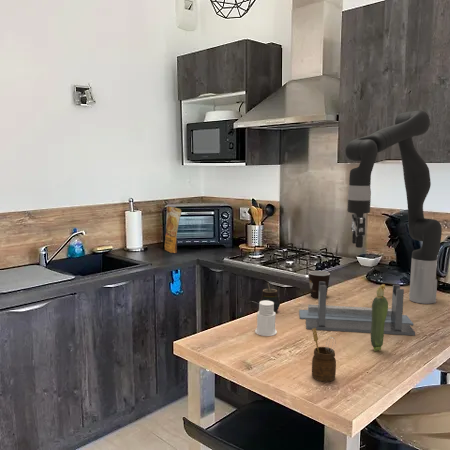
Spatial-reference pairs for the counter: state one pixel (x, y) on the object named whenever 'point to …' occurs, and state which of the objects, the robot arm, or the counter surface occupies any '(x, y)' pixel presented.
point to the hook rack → (360, 326)
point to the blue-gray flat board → (350, 318)
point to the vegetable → (378, 318)
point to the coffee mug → (317, 282)
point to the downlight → (266, 319)
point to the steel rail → (346, 311)
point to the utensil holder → (323, 362)
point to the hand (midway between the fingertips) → (357, 245)
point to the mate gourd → (271, 297)
